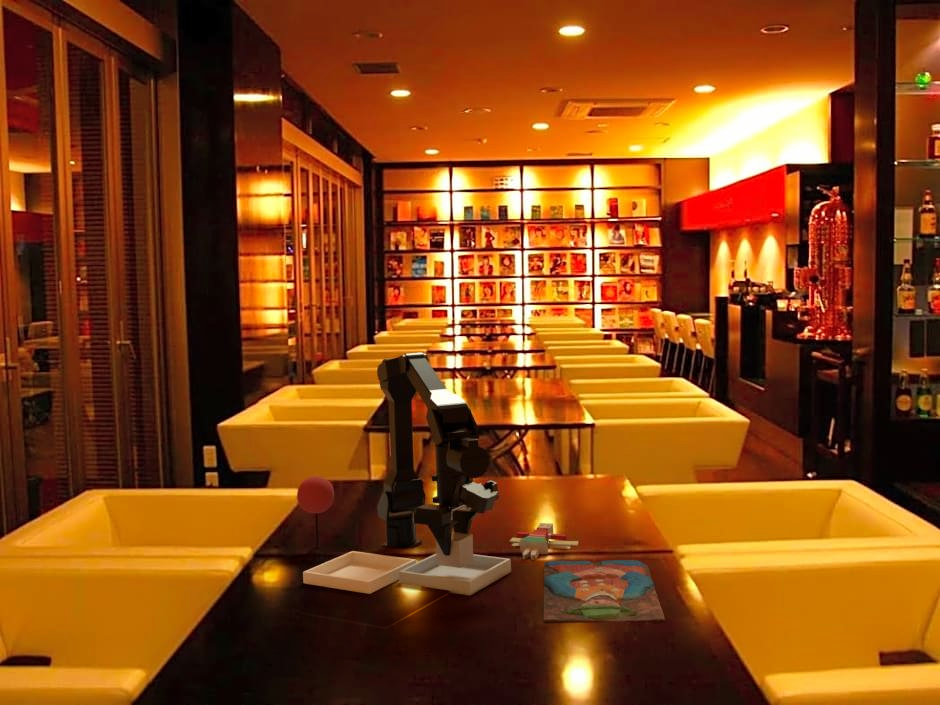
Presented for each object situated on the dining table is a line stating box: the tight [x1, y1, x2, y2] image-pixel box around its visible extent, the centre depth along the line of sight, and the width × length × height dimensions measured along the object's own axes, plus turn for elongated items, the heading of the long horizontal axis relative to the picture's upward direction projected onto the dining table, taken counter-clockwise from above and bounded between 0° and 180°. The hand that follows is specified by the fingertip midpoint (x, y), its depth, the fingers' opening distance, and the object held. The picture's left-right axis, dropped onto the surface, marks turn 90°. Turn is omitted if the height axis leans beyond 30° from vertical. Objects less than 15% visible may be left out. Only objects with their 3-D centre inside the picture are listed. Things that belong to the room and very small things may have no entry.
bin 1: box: [302, 550, 417, 595], centre depth 192 cm, size 15×15×2 cm
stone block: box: [435, 531, 474, 568], centre depth 190 cm, size 5×5×5 cm
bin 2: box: [398, 553, 512, 596], centre depth 190 cm, size 15×15×2 cm
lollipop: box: [296, 476, 335, 548], centre depth 215 cm, size 8×8×15 cm
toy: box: [509, 522, 579, 561], centre depth 207 cm, size 15×4×15 cm
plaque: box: [543, 559, 666, 623], centre depth 179 cm, size 20×2×30 cm
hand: (454, 551), depth 190 cm, fingers closed on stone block, 5 cm apart
